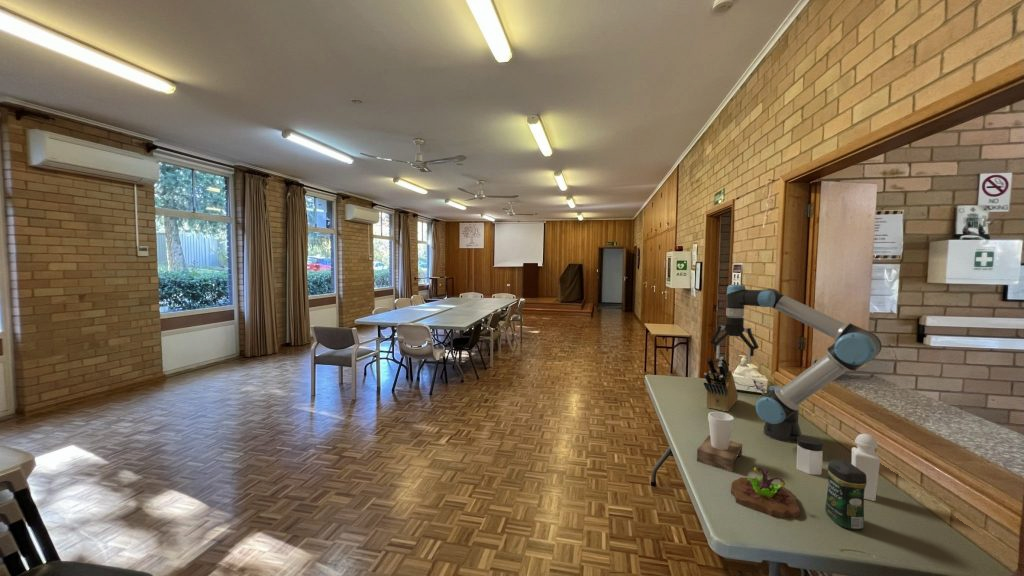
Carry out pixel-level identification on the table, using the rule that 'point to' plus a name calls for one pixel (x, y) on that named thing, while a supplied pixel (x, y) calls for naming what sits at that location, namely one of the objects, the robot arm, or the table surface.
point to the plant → (765, 496)
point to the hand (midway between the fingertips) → (733, 360)
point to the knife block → (720, 386)
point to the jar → (809, 455)
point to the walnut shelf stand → (719, 454)
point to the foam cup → (720, 429)
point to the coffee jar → (845, 494)
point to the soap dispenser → (867, 463)
